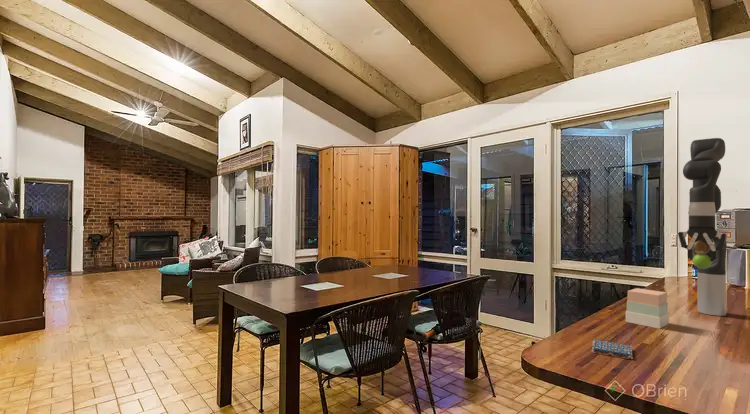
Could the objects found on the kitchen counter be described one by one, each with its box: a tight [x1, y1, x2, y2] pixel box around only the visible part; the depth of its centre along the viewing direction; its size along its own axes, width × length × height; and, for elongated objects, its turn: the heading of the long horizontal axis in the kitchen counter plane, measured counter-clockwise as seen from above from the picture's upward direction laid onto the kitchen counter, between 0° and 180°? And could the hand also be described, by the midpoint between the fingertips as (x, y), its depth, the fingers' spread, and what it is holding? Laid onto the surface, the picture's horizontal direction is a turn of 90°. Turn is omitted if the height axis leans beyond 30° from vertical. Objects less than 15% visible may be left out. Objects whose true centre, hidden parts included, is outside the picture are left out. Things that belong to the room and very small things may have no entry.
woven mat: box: [591, 338, 634, 360], centre depth 114 cm, size 10×11×2 cm
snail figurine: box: [691, 240, 712, 269], centre depth 139 cm, size 5×6×12 cm
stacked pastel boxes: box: [625, 287, 670, 329], centre depth 147 cm, size 11×11×12 cm
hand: (702, 260), depth 139 cm, fingers closed on snail figurine, 5 cm apart
